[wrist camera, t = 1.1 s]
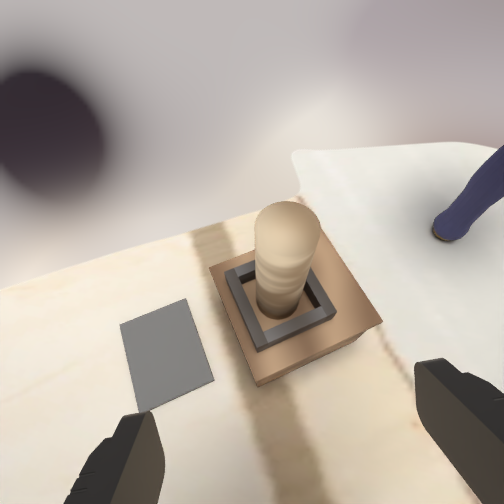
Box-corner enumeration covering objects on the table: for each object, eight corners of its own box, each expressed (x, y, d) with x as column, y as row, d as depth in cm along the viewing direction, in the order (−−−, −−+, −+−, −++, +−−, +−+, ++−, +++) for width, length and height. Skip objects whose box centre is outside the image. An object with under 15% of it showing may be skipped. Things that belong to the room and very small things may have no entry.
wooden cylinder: (266, 326, 28) (271, 266, 17) (249, 289, 30) (244, 214, 19) (306, 309, 28) (333, 241, 18) (286, 273, 30) (301, 193, 20)
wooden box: (256, 391, 32) (255, 378, 24) (218, 296, 38) (205, 258, 29) (358, 342, 35) (391, 314, 26) (308, 259, 40) (322, 213, 31)
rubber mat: (141, 414, 32) (139, 414, 31) (121, 326, 36) (119, 324, 36) (214, 380, 33) (213, 379, 33) (186, 300, 38) (185, 298, 37)
